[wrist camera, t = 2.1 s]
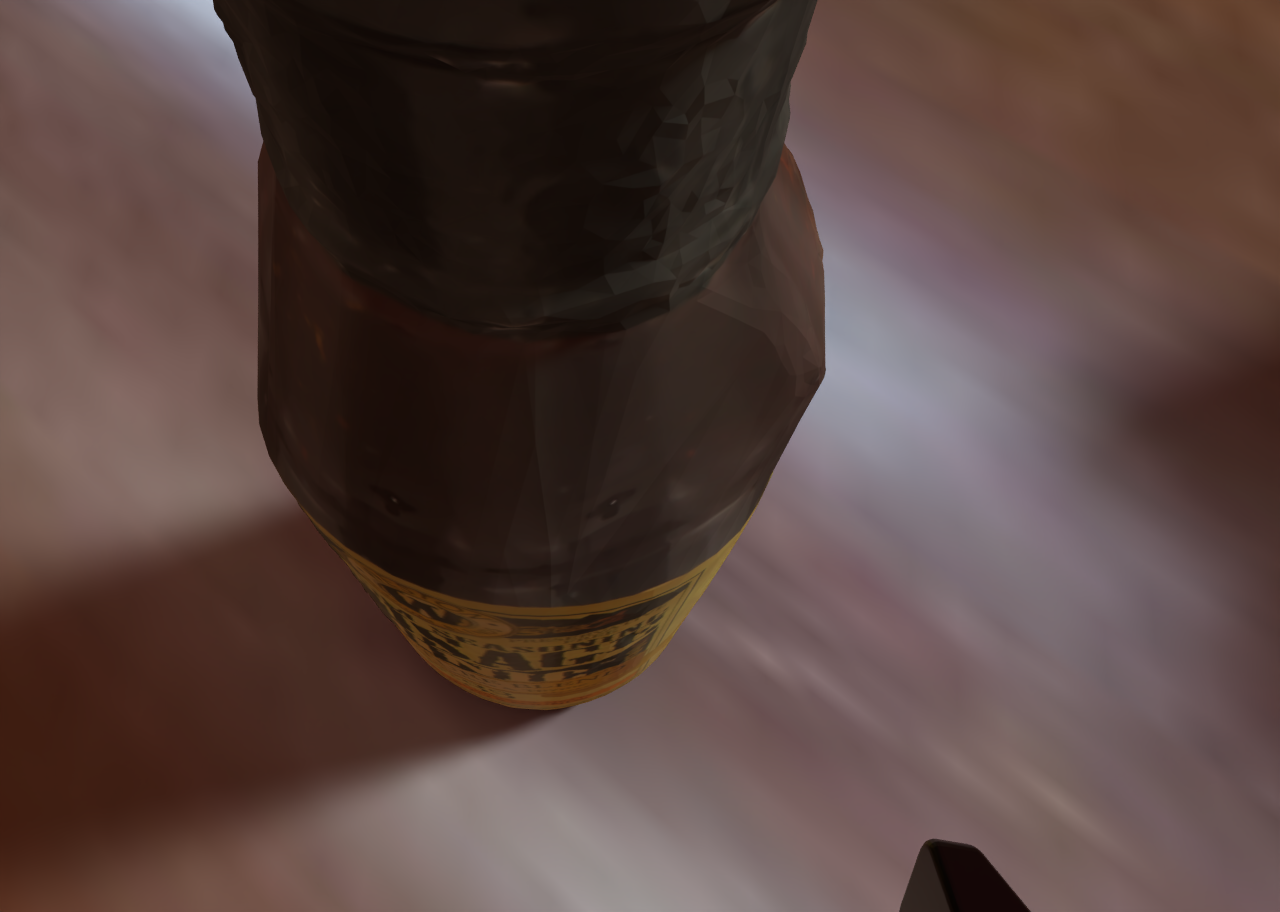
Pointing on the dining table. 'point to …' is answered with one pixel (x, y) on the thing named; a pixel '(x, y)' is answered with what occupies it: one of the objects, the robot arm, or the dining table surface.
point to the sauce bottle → (531, 310)
